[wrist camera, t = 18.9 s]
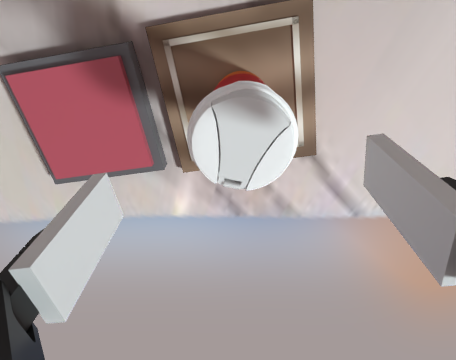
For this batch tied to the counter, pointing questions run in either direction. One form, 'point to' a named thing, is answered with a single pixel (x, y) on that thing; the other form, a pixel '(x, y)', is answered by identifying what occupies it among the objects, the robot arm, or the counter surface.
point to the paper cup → (242, 133)
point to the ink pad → (87, 112)
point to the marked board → (238, 63)
